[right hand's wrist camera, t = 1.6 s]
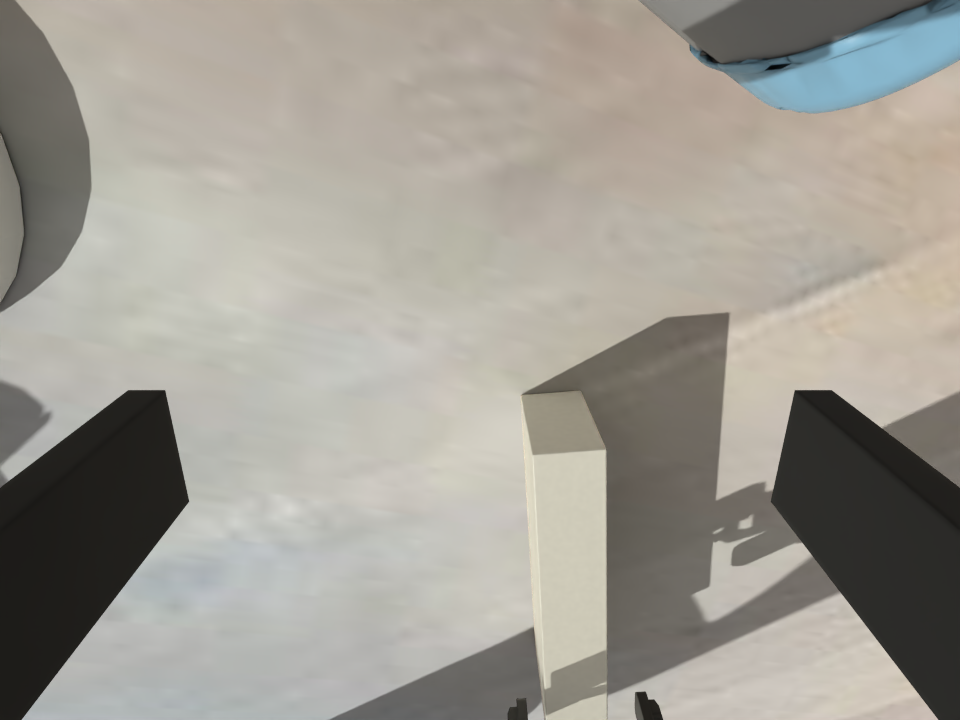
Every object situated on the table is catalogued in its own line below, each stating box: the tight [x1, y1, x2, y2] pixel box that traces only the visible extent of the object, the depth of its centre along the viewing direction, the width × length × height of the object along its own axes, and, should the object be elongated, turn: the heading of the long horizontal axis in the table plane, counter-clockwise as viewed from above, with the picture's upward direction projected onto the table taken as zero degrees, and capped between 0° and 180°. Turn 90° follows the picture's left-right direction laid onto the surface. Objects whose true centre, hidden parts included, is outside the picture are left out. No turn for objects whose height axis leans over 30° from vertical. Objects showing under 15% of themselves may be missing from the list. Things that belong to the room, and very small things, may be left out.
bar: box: [521, 391, 607, 720], centre depth 44 cm, size 24×4×9 cm, turn 4°
